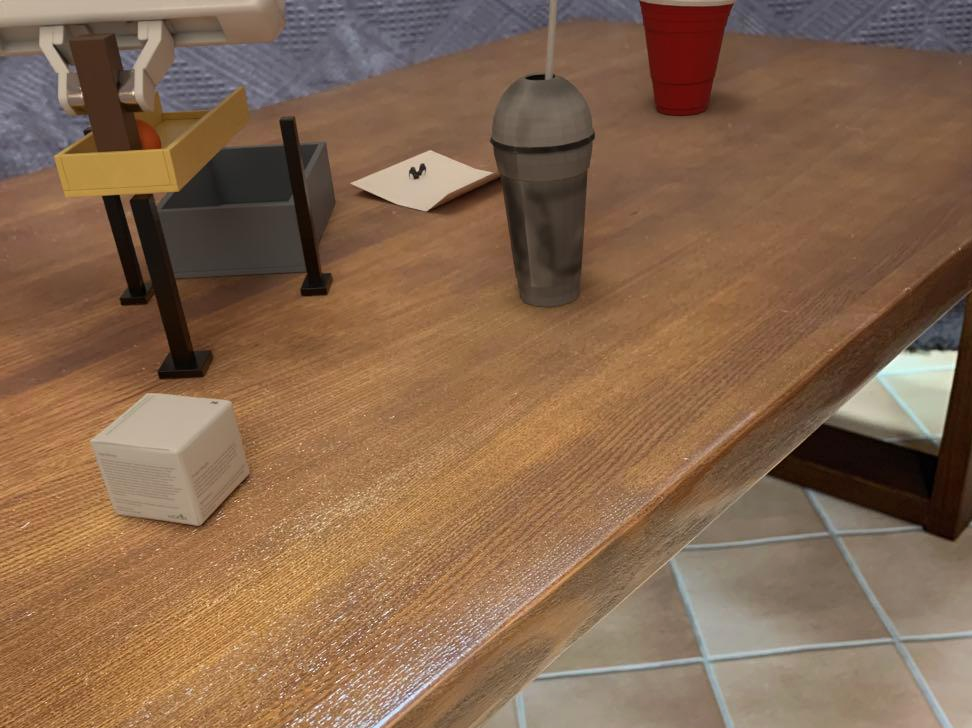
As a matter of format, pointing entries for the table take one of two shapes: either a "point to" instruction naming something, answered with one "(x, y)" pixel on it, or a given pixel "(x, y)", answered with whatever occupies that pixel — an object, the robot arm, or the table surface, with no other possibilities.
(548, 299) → the beverage cup
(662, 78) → the plastic cup
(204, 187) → the bin
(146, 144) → the toy ball
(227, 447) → the small box
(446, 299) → the table surface
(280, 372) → the table surface
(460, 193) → the folded paper
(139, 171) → the trough
